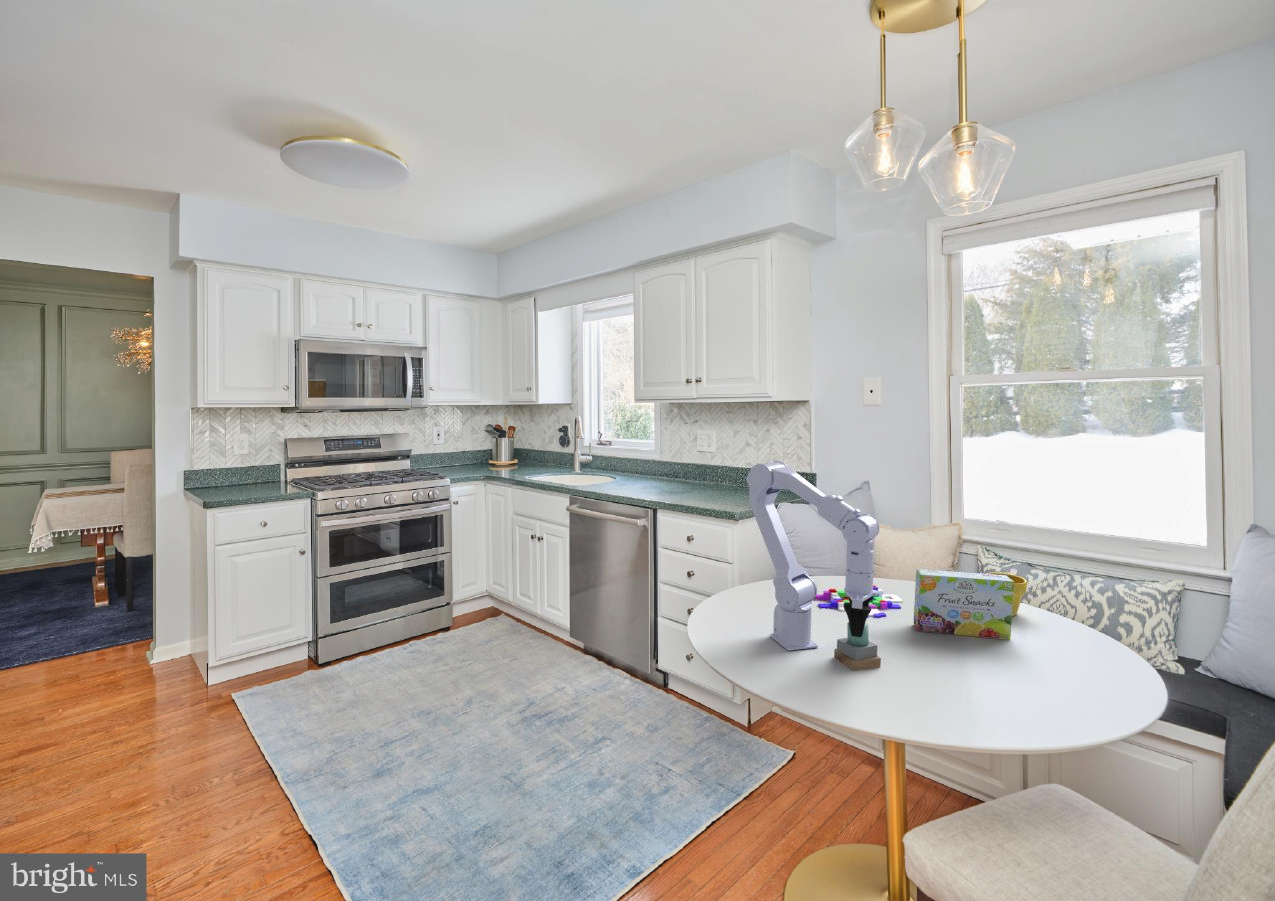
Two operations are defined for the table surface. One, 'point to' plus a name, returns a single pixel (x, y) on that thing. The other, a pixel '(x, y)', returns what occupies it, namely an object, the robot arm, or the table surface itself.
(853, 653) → the grey top block
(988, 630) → the snack box
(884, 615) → the building block set
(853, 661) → the walnut base block
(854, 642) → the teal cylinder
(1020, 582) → the plant pot
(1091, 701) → the table surface
